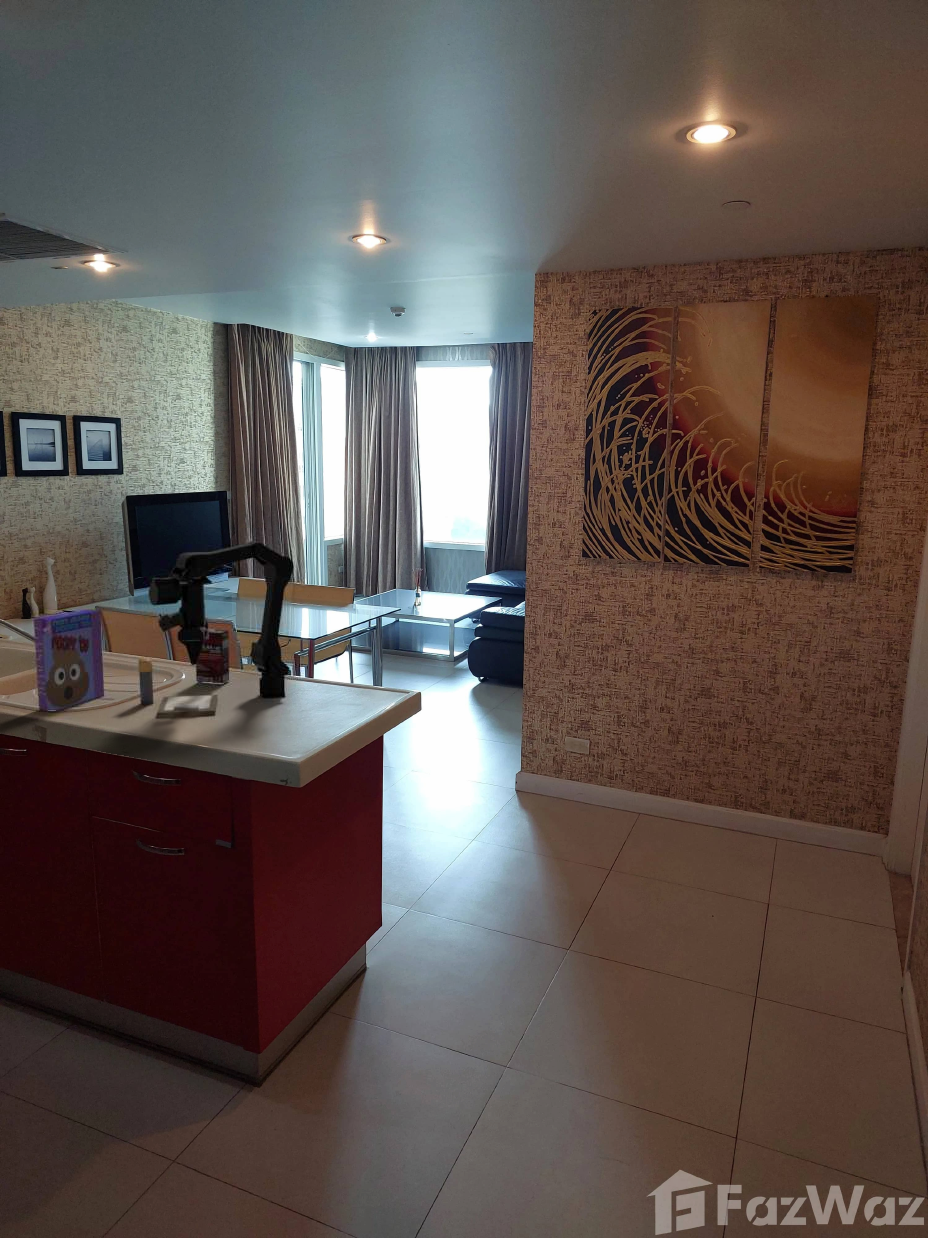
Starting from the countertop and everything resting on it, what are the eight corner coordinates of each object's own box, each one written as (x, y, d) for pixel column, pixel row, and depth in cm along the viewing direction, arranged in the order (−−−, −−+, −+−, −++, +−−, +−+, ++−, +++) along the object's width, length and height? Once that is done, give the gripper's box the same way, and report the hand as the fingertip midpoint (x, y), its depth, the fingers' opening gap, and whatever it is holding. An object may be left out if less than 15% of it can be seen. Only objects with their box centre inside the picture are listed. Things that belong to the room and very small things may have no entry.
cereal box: (53, 712, 205) (48, 619, 201) (39, 710, 206) (33, 618, 202) (104, 696, 221) (100, 610, 217) (90, 694, 223) (85, 608, 219)
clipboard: (217, 698, 221) (217, 691, 221) (215, 715, 206) (214, 706, 206) (163, 701, 218) (163, 693, 217) (157, 717, 202) (156, 709, 202)
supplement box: (195, 683, 237) (194, 630, 235) (203, 680, 242) (202, 628, 239) (223, 685, 236) (221, 632, 233) (230, 681, 240) (229, 629, 238)
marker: (154, 701, 217) (153, 658, 215) (153, 705, 214) (151, 661, 212) (141, 702, 216) (139, 658, 214) (139, 705, 213) (137, 661, 211)
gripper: (164, 597, 214) (166, 654, 217) (154, 608, 196) (157, 670, 199) (207, 596, 217) (209, 653, 219) (202, 607, 199) (204, 668, 201)
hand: (195, 661), depth 210 cm, fingers open, 8 cm apart
